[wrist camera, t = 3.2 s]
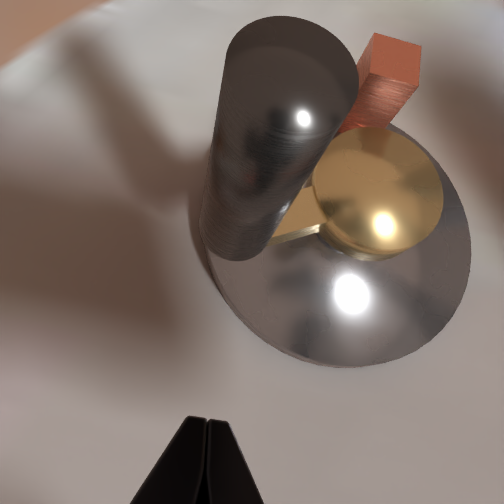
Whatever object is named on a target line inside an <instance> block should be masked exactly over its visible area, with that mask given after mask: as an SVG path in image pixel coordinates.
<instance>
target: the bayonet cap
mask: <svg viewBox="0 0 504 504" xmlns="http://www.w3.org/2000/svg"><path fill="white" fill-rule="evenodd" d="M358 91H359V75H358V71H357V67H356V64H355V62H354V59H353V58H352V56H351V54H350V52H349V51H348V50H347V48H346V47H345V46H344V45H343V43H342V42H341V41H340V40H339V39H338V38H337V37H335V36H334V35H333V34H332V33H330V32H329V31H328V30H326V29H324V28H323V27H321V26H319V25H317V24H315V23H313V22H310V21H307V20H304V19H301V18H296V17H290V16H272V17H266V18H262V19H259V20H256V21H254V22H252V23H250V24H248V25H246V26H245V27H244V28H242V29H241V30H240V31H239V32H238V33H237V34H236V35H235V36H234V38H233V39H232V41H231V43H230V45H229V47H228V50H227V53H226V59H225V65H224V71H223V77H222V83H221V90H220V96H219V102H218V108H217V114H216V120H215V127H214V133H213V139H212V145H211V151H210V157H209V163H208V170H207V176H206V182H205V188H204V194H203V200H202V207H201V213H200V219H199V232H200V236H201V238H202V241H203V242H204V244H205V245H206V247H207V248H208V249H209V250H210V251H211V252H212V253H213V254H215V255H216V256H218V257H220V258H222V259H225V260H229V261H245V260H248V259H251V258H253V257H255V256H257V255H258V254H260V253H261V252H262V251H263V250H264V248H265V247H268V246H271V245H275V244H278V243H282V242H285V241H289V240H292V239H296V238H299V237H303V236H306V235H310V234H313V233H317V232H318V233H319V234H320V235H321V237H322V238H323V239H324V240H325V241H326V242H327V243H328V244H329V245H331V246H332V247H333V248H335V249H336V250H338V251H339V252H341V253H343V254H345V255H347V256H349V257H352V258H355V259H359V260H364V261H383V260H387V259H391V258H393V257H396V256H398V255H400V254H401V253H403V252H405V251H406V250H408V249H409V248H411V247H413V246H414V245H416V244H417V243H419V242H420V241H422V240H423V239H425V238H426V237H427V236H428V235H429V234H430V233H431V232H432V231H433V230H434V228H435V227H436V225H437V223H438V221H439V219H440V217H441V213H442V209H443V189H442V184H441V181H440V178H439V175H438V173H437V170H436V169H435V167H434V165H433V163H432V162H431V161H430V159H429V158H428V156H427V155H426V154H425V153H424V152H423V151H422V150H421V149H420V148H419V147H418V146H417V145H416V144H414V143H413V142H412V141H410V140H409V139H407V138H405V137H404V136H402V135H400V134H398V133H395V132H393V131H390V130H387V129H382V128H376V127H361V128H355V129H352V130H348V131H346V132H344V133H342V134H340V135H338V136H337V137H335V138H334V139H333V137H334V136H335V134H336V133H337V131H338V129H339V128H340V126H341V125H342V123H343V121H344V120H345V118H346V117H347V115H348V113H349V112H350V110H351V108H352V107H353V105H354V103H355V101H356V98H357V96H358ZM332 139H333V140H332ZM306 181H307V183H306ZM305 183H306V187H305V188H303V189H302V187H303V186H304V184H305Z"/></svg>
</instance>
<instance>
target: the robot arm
mask: <svg viewBox="0 0 504 504" xmlns="http://www.w3.org/2000/svg"><path fill="white" fill-rule="evenodd" d="M130 504H264V502H263V500H262V498H261V496H260V493H259V491H258V489H257V486H256V484H255V482H254V479H253V477H252V475H251V472H250V470H249V468H248V465H247V463H246V461H245V458H244V456H243V454H242V452H241V449H240V447H239V445H238V442H237V440H236V438H235V435H234V433H233V431H232V428H231V426H230V424H229V423H228V422H227V421H222V420H215V419H210V420H208V422H207V419H206V418H202V417H196V416H187V417H186V418H185V420H184V421H183V423H182V424H181V426H180V427H179V429H178V430H177V432H176V433H175V435H174V437H173V438H172V440H171V441H170V443H169V444H168V446H167V447H166V449H165V450H164V452H163V453H162V455H161V456H160V458H159V460H158V461H157V463H156V464H155V466H154V467H153V469H152V470H151V472H150V473H149V475H148V476H147V478H146V480H145V481H144V483H143V484H142V486H141V487H140V489H139V490H138V492H137V493H136V495H135V496H134V498H133V500H132V501H131V503H130Z"/></svg>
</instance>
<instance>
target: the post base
mask: <svg viewBox="0 0 504 504" xmlns="http://www.w3.org/2000/svg"><path fill="white" fill-rule="evenodd" d="M420 58H421V46H419V45H415V44H412V43H408V42H405V41H402V40H398V39H395V38H391V37H388V36H384V35H381V34H377V33H374V34H373V36H372V38H371V39H370V41H369V43H368V45H367V47H366V48H365V50H364V52H363V54H362V56H361V57H360V59H359V61H358V63H357V65H356V67H357V71H358V75H359V91H358V96H357V98H356V101H355V103H354V105H353V107H352V108H351V110H350V112H349V113H348V115H347V117H346V118H345V120H344V121H343V123H342V125H341V126H340V128H339V129H338V131H337V133H336V134H335V136H334V137H333V139H334V138H335V137H337V136H338V135H340V134H342V133H344V132H346V131H348V130H352V129H355V128H361V127H376V128H382V129H387V130H390V131H393V132H395V133H398V134H400V135H402V136H404V137H405V138H407V139H409V140H410V141H412V142H413V143H414V144H416V145H417V146H418V147H419V148H420V149H421V150H422V151H423V152H424V153H425V154H426V155H427V156H428V158H429V159H430V161H431V162H432V163H433V165H434V167H435V169H436V170H437V173H438V175H439V178H440V181H441V184H442V189H443V209H442V213H441V217H440V219H439V221H438V223H437V225H436V227H435V228H434V230H433V231H432V232H431V233H430V234H429V235H428V236H427V237H426V238H425V239H423V240H422V241H420V242H419V243H417V244H416V245H414V246H413V247H411V248H409V249H408V250H406V251H405V252H403V253H401V254H400V255H398V256H396V257H393V258H391V259H387V260H383V261H364V260H359V259H355V258H352V257H349V256H347V255H345V254H343V253H341V252H339V251H338V250H336V249H335V248H333V247H332V246H331V245H329V244H328V243H327V242H326V241H325V240H324V239H323V238H322V237H321V235H320V234H319V233H318V232H317V233H313V234H310V235H306V236H303V237H299V238H296V239H292V240H289V241H285V242H282V243H278V244H275V245H271V246H268V247H265V248H264V250H263V251H262V252H261V253H260V254H258V255H257V256H255V257H253V258H251V259H248V260H245V261H229V260H225V259H222V258H220V257H218V256H216V255H215V254H213V253H212V252H211V251H210V250H209V249H208V248H207V247H206V245H205V244H204V245H205V252H206V256H207V260H208V264H209V268H210V270H211V273H212V275H213V278H214V280H215V283H216V285H217V287H218V289H219V290H220V292H221V294H222V296H223V297H224V299H225V301H226V302H227V304H228V305H229V306H230V308H231V309H232V310H233V312H234V313H235V314H236V316H237V317H238V318H239V319H240V320H241V321H242V322H243V323H244V324H245V325H246V326H247V327H248V328H249V329H250V330H251V331H252V332H253V333H255V334H256V335H257V336H259V337H260V338H261V339H262V340H264V341H265V342H266V343H268V344H269V345H271V346H273V347H275V348H276V349H278V350H280V351H281V352H283V353H285V354H288V355H290V356H292V357H295V358H297V359H299V360H302V361H306V362H309V363H313V364H316V365H321V366H328V367H335V368H356V367H363V366H370V365H376V364H382V363H385V362H389V361H392V360H395V359H399V358H401V357H403V356H406V355H408V354H410V353H412V352H414V351H416V350H418V349H419V348H420V347H422V346H423V345H425V344H426V343H428V342H429V341H431V340H432V339H433V338H434V337H435V336H436V335H437V334H438V333H439V332H440V331H441V330H442V329H443V328H444V327H445V325H446V324H447V323H448V322H449V320H450V319H451V318H452V316H453V315H454V313H455V311H456V309H457V307H458V306H459V304H460V302H461V300H462V297H463V294H464V292H465V289H466V286H467V282H468V277H469V273H470V263H471V239H470V233H469V227H468V222H467V218H466V215H465V212H464V208H463V206H462V203H461V201H460V199H459V196H458V194H457V192H456V190H455V188H454V186H453V184H452V183H451V181H450V179H449V177H448V176H447V175H446V173H445V172H444V170H443V169H442V168H441V166H440V165H439V163H438V162H437V161H436V160H435V159H434V158H433V157H432V156H431V154H430V153H429V152H428V151H427V150H426V149H425V148H424V147H422V146H421V145H420V144H419V143H418V142H417V141H416V140H415V139H413V138H412V137H410V136H409V135H408V134H406V133H405V132H404V131H402V130H401V129H399V128H397V127H396V126H394V125H392V124H390V122H391V120H392V119H393V118H394V117H395V115H396V114H397V113H398V112H399V110H400V109H401V108H402V107H403V105H404V104H405V103H406V101H407V100H408V99H409V98H410V96H411V95H412V94H413V93H414V91H415V90H416V89H417V88H418V86H419V72H420ZM333 139H332V140H333ZM306 183H307V181H306ZM306 183H305V184H304V186H303V187H302V189H303V188H305V187H306Z"/></svg>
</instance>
